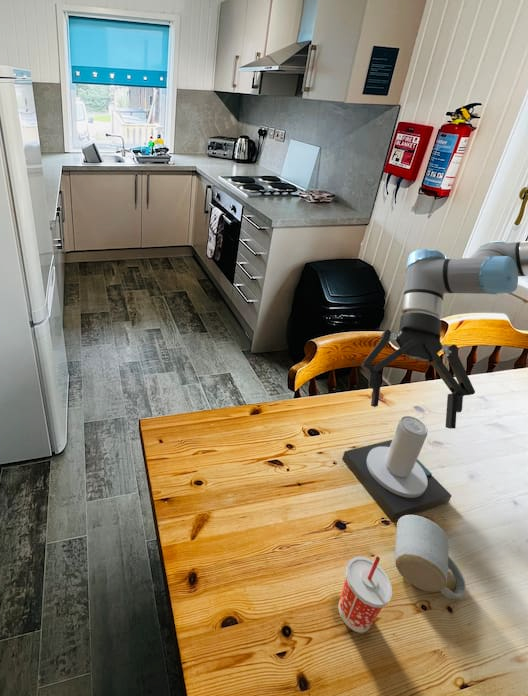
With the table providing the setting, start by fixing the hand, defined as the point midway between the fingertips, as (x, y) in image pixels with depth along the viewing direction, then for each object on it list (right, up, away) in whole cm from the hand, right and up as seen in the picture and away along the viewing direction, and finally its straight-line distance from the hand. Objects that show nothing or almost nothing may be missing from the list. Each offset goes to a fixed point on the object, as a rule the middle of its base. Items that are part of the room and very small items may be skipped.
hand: (411, 416), depth 79 cm
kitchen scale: (-2, -14, +3) cm, 15 cm away
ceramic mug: (-6, -21, -12) cm, 25 cm away
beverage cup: (-20, -23, -19) cm, 36 cm away
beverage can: (-2, -11, +2) cm, 12 cm away
